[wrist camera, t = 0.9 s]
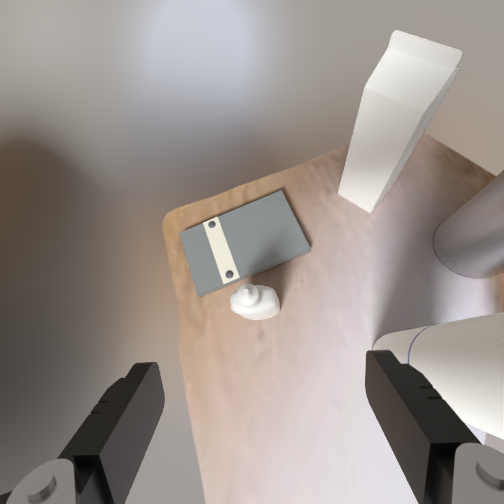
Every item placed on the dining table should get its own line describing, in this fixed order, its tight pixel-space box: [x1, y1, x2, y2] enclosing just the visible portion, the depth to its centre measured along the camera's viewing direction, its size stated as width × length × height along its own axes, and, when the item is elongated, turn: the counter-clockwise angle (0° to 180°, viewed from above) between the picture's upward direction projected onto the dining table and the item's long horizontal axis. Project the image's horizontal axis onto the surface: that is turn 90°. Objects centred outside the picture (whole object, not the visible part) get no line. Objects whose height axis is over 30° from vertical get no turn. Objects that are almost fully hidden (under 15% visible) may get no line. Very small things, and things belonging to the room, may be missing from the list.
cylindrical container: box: [372, 312, 504, 440], centre depth 21 cm, size 7×7×25 cm
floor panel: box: [180, 190, 311, 297], centre depth 41 cm, size 18×11×2 cm, turn 111°
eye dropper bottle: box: [230, 284, 280, 320], centre depth 33 cm, size 4×6×12 cm
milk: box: [338, 30, 463, 213], centre depth 31 cm, size 6×6×22 cm
